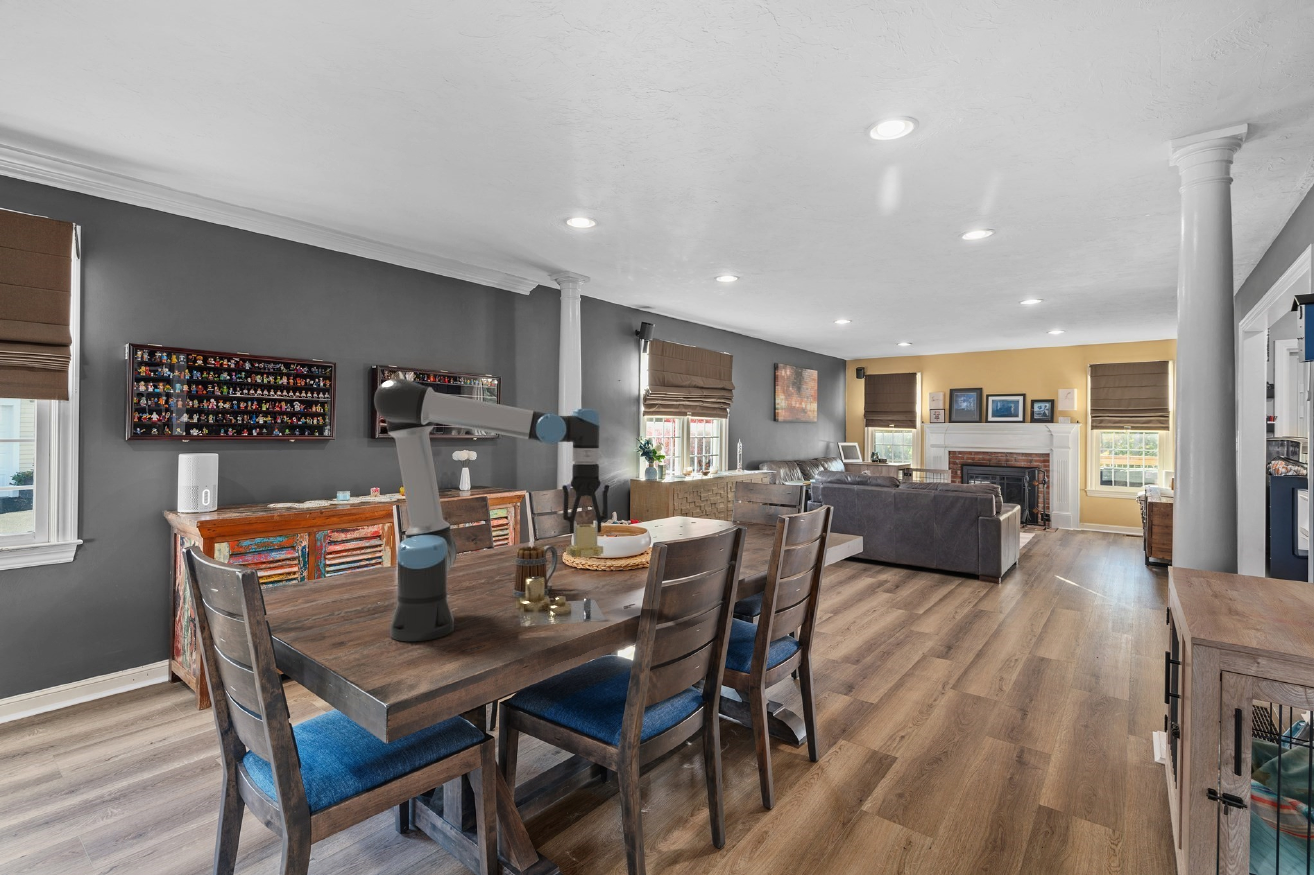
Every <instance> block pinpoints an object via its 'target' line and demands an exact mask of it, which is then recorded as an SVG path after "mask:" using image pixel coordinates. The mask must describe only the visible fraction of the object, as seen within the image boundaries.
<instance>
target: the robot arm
mask: <svg viewBox="0 0 1314 875" xmlns="http://www.w3.org/2000/svg"><path fill="white" fill-rule="evenodd" d="M373 403H374V408H375V410H376V412H377V413H378V415H379V416H380V417H382V418H383V419H384V420H385V424H386V429H387V434H388V435H390V436H391V437H393V439H394V440H395V444H396V451H397V458H398V463H399V469H400V474H401V481H402V486H403V492H404V498H405V503H406V508H407V515H408V522H409V527H408V529H407V530H406V531H405V534H404V535H405V539H404V540H402V541H401V542H400V543H398V548H397V553H396V559H397V604H396V606H395V607H396V608H395V610H394V613H393V617H392V618H391V623H390V626H389V636H390V638H392V639H394V640H396V641H401V642H423V641H424V642H425V641H431V640H436V639H439V638H443V637H444V636H447V635H449V634H451V633H452V632H453V631H454V630H455V619H454V616H453V613H452V610H451V608H450V605H449V601H448V594H447V593H448V572H449V571H450V569H452V567H453V566H454V564H455V562H456V560H457V555H458V546H457V543H456V540H454V538H453V535H452V530H451V524H450V523H449V522H447V521H446V520H445V519H444V517H443V512H442V510H443V509H442V505H441V499H440V494H439V487H438V482H437V476H436V469H435V464H434V456H433V451H432V446H431V440H430V432H431V431H432V430H433V428H434V423H435V424H441V425H447V426H453V427H457V428H462V429H463V428H464V429H468V430H469V429H470V430H475V431H481V432H485V433H491V434H498V435H503V436H509V437H515V438H521V439H526V440H530V441H531V442H536V443H545V444H550V445H554V444H557V443H572V462H574V463H573V464H572V478H571V480H570V483H566V484H562V485H561V489H562V493H563V498H562V499H563V500H562V501H563V502H562V519H563V520H565V521H567V522H568V532H569V534H572V545H574V546H576V541H577V525H578V524H577V523H578V522H577V521H575V519H576V515H577V512H578V509H579V505H580V501H581V498H582V497H585V496H588V497H589V498H590V500H591V505H592V509H593V512H594V517H595V520H593V525H594V526H595V527H596V536H595V545H598V533H601V532H602V521H605V520H607V519H608V518H609V517H608V511H609V509H608V505H609V504H608V492H609V489H610V485H609V484H607V483H606V484H605V483H603V482H601V481H600V466H599V465H600V464H598V462H600V426H601V425H600V414H599V412H600V411H598V410H597V409H594V408H593V409H592V408H574V409H573V410H572V414H571V415H558V414H555V413H546V412H541V411H535V410H531V409H526V408H521V407H514V406H509V405H504V404H498V403H495V402H490V401H489V402H488V401H484V400H477V399H473V398H467V397H462V396H457V395H451V394H447V393H446V394H445V393H441V392H436V391H434V389H433V388H432V387H431V386H427V385H426V386H425V385H422V384H420V383H418V382H416V381H412V380H408V379H406V378H397V377H396V378H391V379H388V380H386V381H384V382H383V383H381V384H380V385H379V386H378V388H377V389H376V391H375V393H374V397H373ZM571 488H572V489H573V490H574V492H575V495H574V501H573V504H572V507H571V510H570V513H569V492H570V491H571ZM599 488H600V491H601V512H600V509H599V504H598V501H597V496H596V492H597V491H598V490H599ZM569 514H570V515H569Z"/></svg>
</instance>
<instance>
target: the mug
mask: <svg viewBox="0 0 1314 875" xmlns="http://www.w3.org/2000/svg"><path fill="white" fill-rule="evenodd" d="M549 550H550V552H551V563H550V568H549V569H548V571H547V563H548V561H549V560H548V558H547V553H548V551H549ZM557 564H558V550H557V549H556V547H555V546H554V545H553V546H552V545H546V546H545V545H544V547H542V546H535V545H534V546H524V547H523V546H522V547H519V548H517V550H516V556H515V571H514V572H515V573H514V584H513V585H514V586H513V590H512V595H513V597H514V598H518V599H520V597H526V578H528V577H534V576H539V577H544V596H545V595H547V596H548V594H549V591H550V590H552V588H553V584H550V583H549V582H550V580H551V578H552V576H553V575H554V573H555V571H556V569H557V566H558V565H557Z"/></svg>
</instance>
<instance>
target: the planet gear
mask: <svg viewBox="0 0 1314 875" xmlns="http://www.w3.org/2000/svg"><path fill="white" fill-rule="evenodd" d="M595 536H596V527H595V526H594V525H593V524H577V541H576V546H574V545H573V544H569V545H568V547H567V546H566V552H565V553H566V556H571V557H572V558H585V559H587V558H593V557H600V556H602V555H603V554H604V546H603V545H598V544H597V545H595Z"/></svg>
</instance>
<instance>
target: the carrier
mask: <svg viewBox="0 0 1314 875" xmlns="http://www.w3.org/2000/svg"><path fill="white" fill-rule="evenodd" d="M566 599H567V598H566V596H563V595H558V596H555V599H554V597H551V598H550V596H549V595H548V594H547V595H545V596H544V577H539V576H534V577H528V578H526V597H520V598H519V599H518V600H515V609H518V615H519V616H518V617H519V624H520V627H531V626H532V627H534V626H545V625H546V626H547V625H560V624H561V625H562V624H574V623H588V622H602V621H603V622H605V621H607V620H606V619H607V618H605V615H604V613H603V612H602V610H601V609H600V606H599V605H598V603H597V602H596V600H595V599H591V597H585V598H583V600H582V599H581V600H570V601H569V600H568V601H567V600H566Z"/></svg>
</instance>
